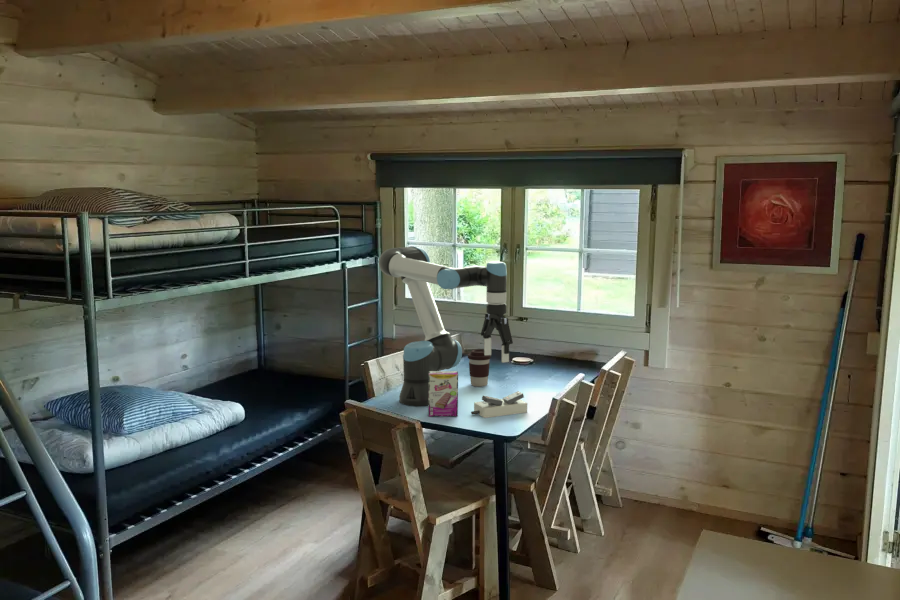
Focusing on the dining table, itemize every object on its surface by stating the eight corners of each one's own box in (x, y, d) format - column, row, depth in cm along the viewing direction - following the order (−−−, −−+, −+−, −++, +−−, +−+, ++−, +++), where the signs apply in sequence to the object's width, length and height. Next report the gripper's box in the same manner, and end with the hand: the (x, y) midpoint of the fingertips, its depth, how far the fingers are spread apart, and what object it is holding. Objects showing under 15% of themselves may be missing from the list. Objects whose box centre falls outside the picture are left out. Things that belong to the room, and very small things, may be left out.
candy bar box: (428, 417, 271) (428, 374, 269) (428, 413, 276) (428, 370, 274) (458, 416, 272) (458, 373, 269) (457, 412, 277) (457, 370, 274)
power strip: (477, 419, 269) (477, 407, 268) (466, 412, 277) (466, 401, 276) (527, 412, 277) (527, 401, 276) (515, 405, 285) (516, 395, 285)
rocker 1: (485, 402, 270) (487, 397, 270) (481, 399, 274) (482, 394, 274) (501, 405, 273) (502, 400, 273) (497, 402, 277) (498, 398, 277)
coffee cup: (488, 388, 311) (489, 353, 309) (465, 387, 313) (465, 352, 311) (492, 382, 321) (492, 348, 318) (469, 381, 323) (470, 348, 320)
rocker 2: (508, 404, 274) (507, 400, 274) (504, 401, 278) (502, 397, 277) (524, 397, 277) (522, 393, 276) (519, 394, 280) (518, 390, 280)
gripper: (522, 306, 266) (521, 364, 269) (489, 298, 288) (489, 351, 291) (504, 308, 262) (504, 366, 265) (472, 299, 285) (472, 353, 288)
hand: (496, 358), depth 278 cm, fingers open, 13 cm apart
